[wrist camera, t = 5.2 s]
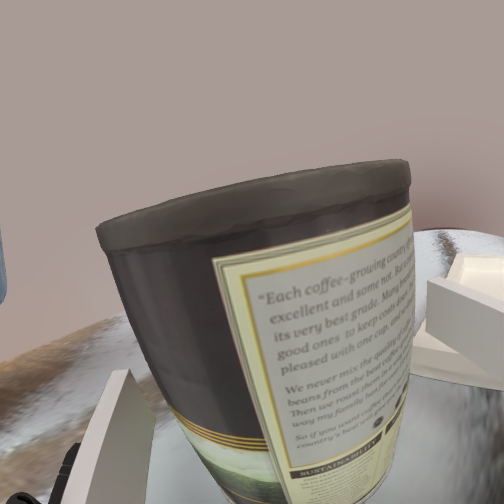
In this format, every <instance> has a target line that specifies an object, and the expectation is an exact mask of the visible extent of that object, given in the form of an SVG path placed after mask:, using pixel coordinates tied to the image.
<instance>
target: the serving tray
mask: <svg viewBox="0 0 504 504" xmlns="http://www.w3.org/2000/svg"><path fill="white" fill-rule="evenodd" d="M446 279H448V280H450V281H453V282H456V283H458V284H461V285H463V286H466V287H469V288H471V289H474V290H476V291H479V292H481V293H484V294H486V295H489V296H491V297H494V298H496V299H499V300H501V301H504V256H502V255H478V254H457V255H456V257H455V259H454V262H453V264H452V266H451V269H450V271H449V273H448V275H447V277H446ZM425 326H426V318H425V320H424V322H423V323H422V325H421V327H420V328H419V330H418V332H417V333H416V335H415V337H414V338H413V347H412V357H411V366H410V374H415V375H419V376H423V377H428V378H433V379H437V380H442V381H447V382H452V383H458V384H463V385H469V386H475V387H481V388H487V389H494V390H501V391H504V383H503V382H502V381H500V380H499V379H497V378H496V377H494V376H493V375H491V374H490V373H488V372H487V371H485V370H484V369H482V368H481V367H479V366H478V365H476V364H475V363H473V362H472V361H470V360H468V359H467V358H465V357H464V356H462V355H461V354H459V353H458V352H456V351H455V350H453V349H452V348H450V347H448V346H447V345H445V344H444V343H442V342H441V341H439V340H438V339H436V338H434V337H433V336H431V335H430V334H428V333H427V332H425Z"/></svg>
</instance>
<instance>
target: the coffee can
mask: <svg viewBox="0 0 504 504" xmlns="http://www.w3.org/2000/svg"><path fill="white" fill-rule="evenodd" d="M410 185H411V173H410V168H409V163H408V161H405V160H402V159H388V160H377V161H367V162H358V163H352V164H345V165H336V166H328V167H322V168H317V169H310V170H309V169H308V170H302V171H296V172H290V173H284V174H280V175H276V176H271V177H265V178H259V179H254V180H249V181H245V182H240V183H236V184H231V185H227V186H223V187H219V188H214V189H210V190H206V191H202V192H198V193H194V194H190V195H186V196H182V197H178V198H175V199H171V200H168V201H166V202H163V203H161V204H158V205H154V206H151V207H147V208H144V209H140V210H136V211H134V212H130V213H127V214H125V215H121V216H118V217H115V218H113V219H110V220H108V221H105V222H103V223H101V224H100V225H99V226H98V227H96V228H95V230H96V233H97V237H98V240H99V243H100V246H101V248H102V250H103V251H104V252H105V254H106V256H107V258H108V262H109V265H110V267H111V270H112V274H113V276H114V280H115V283H116V286H117V288H118V291H119V294H120V297H121V300H122V303H123V305H124V308H125V311H126V314H127V317H128V319H129V322H130V324H131V327H132V329H133V331H134V334H135V336H136V338H137V340H138V343H139V345H140V348H141V350H142V353H143V354H144V357H145V360H146V361H147V363H148V365H149V368H150V370H151V372H152V374H153V376H154V378H155V380H156V382H157V384H158V386H159V388H160V390H161V392H162V394H163V396H164V398H165V400H166V402H167V404H168V405H169V407H170V409H171V411H172V413H173V414H174V416H175V418H176V420H177V422H178V423H179V425H180V427H181V429H182V430H183V432H184V434H185V435H186V437H187V439H188V441H189V442H190V443H191V445H192V446H193V448H194V450H195V451H196V453H197V454H198V456H199V457H200V459H201V461H202V462H203V463H204V465H205V466H206V468H207V469H208V471H209V472H210V474H211V475H212V476H213V478H214V479H215V481H216V482H217V484H218V485H219V486H220V488H221V490H222V492H223V494H224V495H225V497H226V498H227V499H228V500H229V501H230V502H231V503H232V504H362V503H363V502H365V501H366V500H367V499H368V498H369V497H371V496H372V495H373V494H374V493H375V492H376V491H377V489H378V488H379V487H380V485H381V484H382V482H383V481H384V479H385V477H386V476H387V474H388V472H389V469H390V467H391V463H392V461H393V455H394V448H395V444H396V440H397V436H398V432H399V428H400V423H401V419H402V414H403V409H404V404H405V398H406V393H407V387H408V381H409V373H410V366H411V357H412V347H413V335H414V318H415V252H414V236H413V224H412V214H411V206H410V200H409V187H410Z"/></svg>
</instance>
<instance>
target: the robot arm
mask: <svg viewBox="0 0 504 504" xmlns="http://www.w3.org/2000/svg"><path fill="white" fill-rule="evenodd" d="M6 292H7V279H6V270H5V262H4V255H3V247H2V239H1V231H0V304H1V303H2V302H3V301H4V298H5V296H6ZM425 332H427V333H428V334H430V335H431V336H433V337H434V338H436V339H438V340H439V341H441V342H442V343H444V344H445V345H447V346H448V347H450V348H452V349H453V350H455V351H456V352H458V353H459V354H461V355H462V356H464V357H465V358H467V359H468V360H470V361H472V362H473V363H475V364H476V365H478V366H479V367H481V368H482V369H484V370H485V371H487V372H488V373H490V374H491V375H493V376H494V377H496V378H497V379H499V380H500V381H502V382H503V383H504V301H501V300H499V299H496V298H494V297H491V296H489V295H486V294H484V293H481V292H479V291H476V290H474V289H471V288H469V287H466V286H463V285H461V284H458V283H456V282H453V281H450V280H448V279H445V278H442V277H440V276H436V277H434V278H432V279H430V280H427V310H426V326H425ZM155 420H156V417H155V415H154V413H153V412H152V410H151V408H150V407H149V405H148V403H147V401H146V399H145V398H144V396H143V394H142V392H141V390H140V388H139V387H138V385H137V383H136V381H135V379H134V377H133V375H132V373H131V371H130V369H129V368H128V369H122V370H114V371H112V373H111V376H110V378H109V380H108V382H107V384H106V386H105V389H104V391H103V393H102V395H101V398H100V400H99V402H98V404H97V407H96V409H95V411H94V414H93V416H92V418H91V421H90V423H89V426H88V428H87V431H86V433H85V436H84V438H83V441H82V443H75V444H74V445H73V446H72V447H71V448H70V450H69V451H68V452H67V453H66V456H65V458H64V461H63V463H62V464H63V466H61V469H60V471H59V475H58V476H57V479H56V482H55V485H54V488H53V490H52V493H51V496H50V499H49V502H48V504H145V497H146V487H147V478H148V470H149V462H150V454H151V447H152V440H153V433H154V427H155ZM6 504H41V503H40V502H38V501H37V500H36V499H35V498H34V497H32V496H31V495H30V494H28V493H24V492H19V493H15V494H14V495H12V496H11V497H10V498H9V499H8V501H7V502H6Z"/></svg>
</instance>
